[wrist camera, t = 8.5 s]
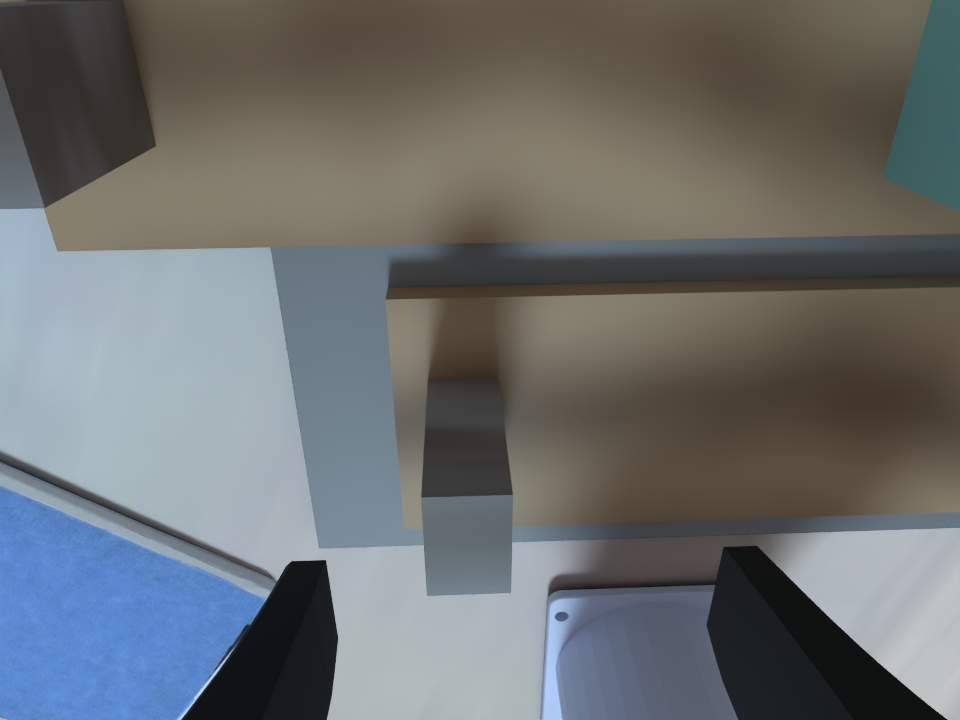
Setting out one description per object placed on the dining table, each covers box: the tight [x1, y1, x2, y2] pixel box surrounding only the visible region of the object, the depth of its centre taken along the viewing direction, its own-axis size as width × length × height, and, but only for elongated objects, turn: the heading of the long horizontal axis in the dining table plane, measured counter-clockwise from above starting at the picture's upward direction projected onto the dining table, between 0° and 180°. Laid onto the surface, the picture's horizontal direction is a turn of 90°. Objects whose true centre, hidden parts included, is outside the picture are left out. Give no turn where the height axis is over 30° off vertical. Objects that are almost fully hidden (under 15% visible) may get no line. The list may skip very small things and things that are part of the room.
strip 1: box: [0, 0, 960, 251], centre depth 14 cm, size 8×28×6 cm, turn 90°
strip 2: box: [385, 276, 960, 596], centre depth 19 cm, size 8×28×6 cm, turn 90°
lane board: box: [271, 234, 960, 548], centre depth 19 cm, size 20×34×1 cm, turn 90°
